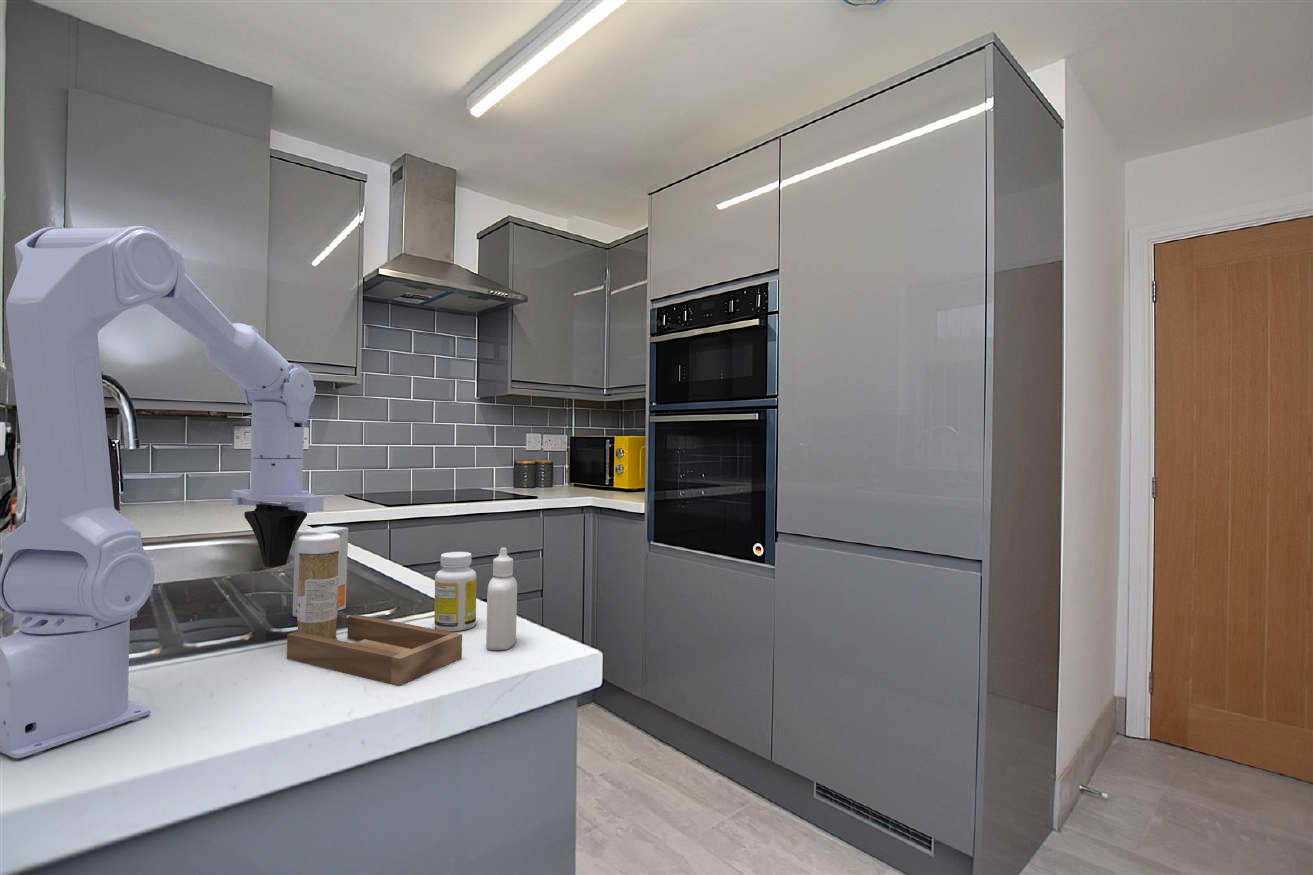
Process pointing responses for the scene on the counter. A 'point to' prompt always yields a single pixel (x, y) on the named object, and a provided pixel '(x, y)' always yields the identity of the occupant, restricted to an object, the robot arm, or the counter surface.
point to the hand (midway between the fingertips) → (275, 565)
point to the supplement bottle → (455, 593)
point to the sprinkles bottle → (318, 584)
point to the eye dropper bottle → (501, 604)
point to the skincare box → (341, 563)
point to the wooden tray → (379, 650)
